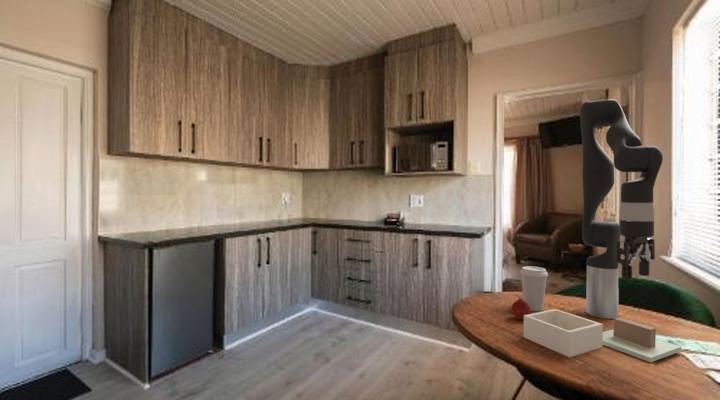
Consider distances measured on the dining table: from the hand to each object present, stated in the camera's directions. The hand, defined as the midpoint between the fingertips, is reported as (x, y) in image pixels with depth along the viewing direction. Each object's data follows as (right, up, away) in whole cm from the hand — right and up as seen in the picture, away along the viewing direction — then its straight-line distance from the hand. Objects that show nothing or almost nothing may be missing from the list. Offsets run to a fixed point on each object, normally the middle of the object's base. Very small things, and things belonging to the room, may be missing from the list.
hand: (635, 277), depth 97 cm
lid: (0, -19, 0) cm, 19 cm away
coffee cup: (-12, -19, +34) cm, 41 cm away
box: (-19, -20, +3) cm, 28 cm away
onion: (-22, -20, +21) cm, 36 cm away
